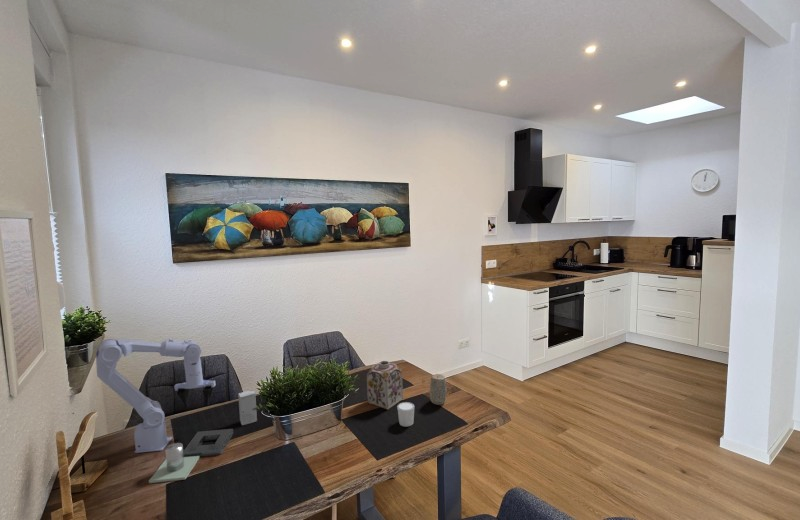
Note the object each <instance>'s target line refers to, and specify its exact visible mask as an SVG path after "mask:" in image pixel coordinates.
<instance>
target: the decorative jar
mask: <svg viewBox="0 0 800 520" xmlns="http://www.w3.org/2000/svg"><path fill="white" fill-rule="evenodd" d="M402 373H403V371H402V369H401V368H400V367H399V366H397V364H396V363H391V362H390V361H388V360H381V361H379V362H378V363H376V364H374V365H372V366H371V367H370V369H369V370H368V372H367V374H366V389H367V390H366V391H367V392H366V393H367V403H368V404H370V405H372V406H376V407H379V408H382V409H385V410H390V409H391V408H393V407H394V406H395V405H398V404H399V402H401V401H402V400H403V399H404V392H403V391H404V390H403V389H404V387H403V374H402Z"/></svg>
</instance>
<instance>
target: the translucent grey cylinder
mask: <svg viewBox="0 0 800 520" xmlns="http://www.w3.org/2000/svg"><path fill="white" fill-rule="evenodd" d="M164 450H165V451H164V452H165V460H166V464H167V471H168V472H175V471H178V470H180V469H181V468H183V466H184V455H183V451H184V445H183V443H181V442H176V443H172V444H169V445H167V447H165V448H164Z"/></svg>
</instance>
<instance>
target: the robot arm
mask: <svg viewBox="0 0 800 520" xmlns="http://www.w3.org/2000/svg"><path fill="white" fill-rule="evenodd" d="M137 352H138V353H159V354H160V356H161V357H174V358H182V357H183V365H184V374H185V382H182V383H176V384H174V391H177V392H176V395H177V396H178V397H179V398H180V400H181V401H182V402H183V404H184V407H185V408H189V406H190V397H189V395H190V393H189V391H190V389H199V388H202V393H203V396H204V402H205V403H204V405H205V406H209V405H210V404H211V403H210V402H211V395H212V392H213V390H214V388H215V386H216V385H217V384H216V380H209V379H204V378H203V376H204V375H203V369H202V360H201V354H202V349H201V347H200V346H199V344H198V343H197V342H195V341H191V340H184V341H178V340H174V339H173V338H169V339H168V340H164V341H161V342H152V341H143V340H135V339H126V338H125V339H124V338H117V339H116V338H115V339H114V338H105V340H102V341H101V342H100V343H99V345H98V347H97V349H96V352H95V361H96V362H95V364H96V376H97V378H98V379H99V380H101V381H102V382H103V383H104V384H106V385H107V387H108V388H110V389H111V390H112V391H113V392H115V393H116V394H117V395H118V396H119V397H120V398H122V399H123V400H124V402H126V403H127V404H128V405H130V406H131V407H132V408H133V409H134V410H135V412H137V414H138V415H139V416H140V417H141V418H142V420H143V422H142V423H138V425H136V427H135V428H134V432H133V436H134V437H133V439H134V445H135V446H134V447H135V450H134V454H138V453H146V452H147V453H149V452H159V451H163V450H165V449H166V446H168V444H169V443H170V442H171V441H172V439H173V436H168V435H167V424H166V418H165V412H164V411H163V408H162V406H161V403H160V402H159V401H157V400H152V399H151V398H150V397H148V396H146V395H145V394H143V393H142V392H141V391H140V390H139V389H138V388H137V387H136V386H134V385H133V383H131V382H130V381H129V380H128V379H127V378H126V377H124V375H122V374H121V373H120V372H119V371H118V370H117V369H116V367H117V363H118V362H119V361H120V359H121V358H122V356H123V357H127V356H128V355H130V354H133V353H137ZM203 388H204V389H203Z"/></svg>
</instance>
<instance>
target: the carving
mask: <svg viewBox="0 0 800 520" xmlns="http://www.w3.org/2000/svg"><path fill="white" fill-rule="evenodd" d="M430 377H431V378H430V383H429V385H430V386H429V387H430V389H429V397H430V398H429V399H430V402H431V403H432V404H434V405H438V406H441V405H443V404H444V403H445V401H446V398H447V379H446V377H445V375H443V374H441V373H440V374H439V373H435V374H432V375H431V376H430Z"/></svg>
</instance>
